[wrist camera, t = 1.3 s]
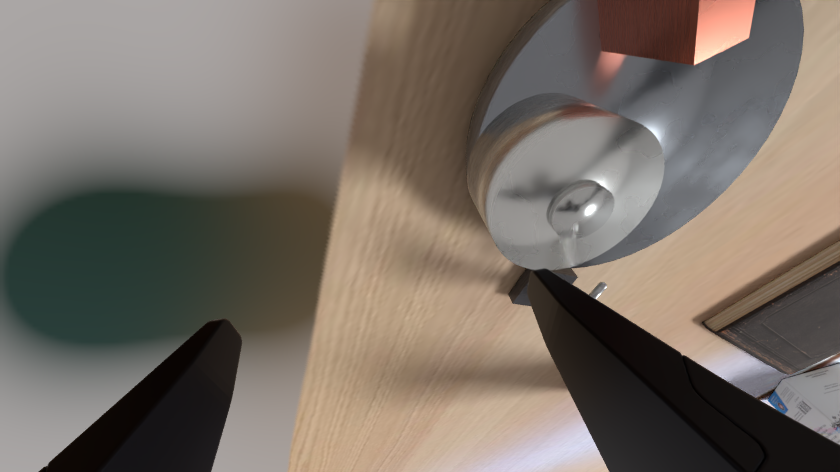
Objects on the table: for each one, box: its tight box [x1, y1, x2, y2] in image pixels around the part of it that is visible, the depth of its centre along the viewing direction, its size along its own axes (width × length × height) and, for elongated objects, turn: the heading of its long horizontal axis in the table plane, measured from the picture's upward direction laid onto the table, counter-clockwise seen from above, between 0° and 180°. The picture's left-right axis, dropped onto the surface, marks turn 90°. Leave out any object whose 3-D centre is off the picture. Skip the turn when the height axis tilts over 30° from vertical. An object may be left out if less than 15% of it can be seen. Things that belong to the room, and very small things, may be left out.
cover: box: [467, 93, 665, 270], centre depth 13 cm, size 7×7×5 cm
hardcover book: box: [702, 240, 840, 374], centre depth 34 cm, size 16×23×2 cm
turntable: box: [466, 0, 804, 268], centre depth 14 cm, size 16×16×6 cm
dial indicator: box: [509, 268, 607, 306], centre depth 21 cm, size 4×6×10 cm, turn 161°
